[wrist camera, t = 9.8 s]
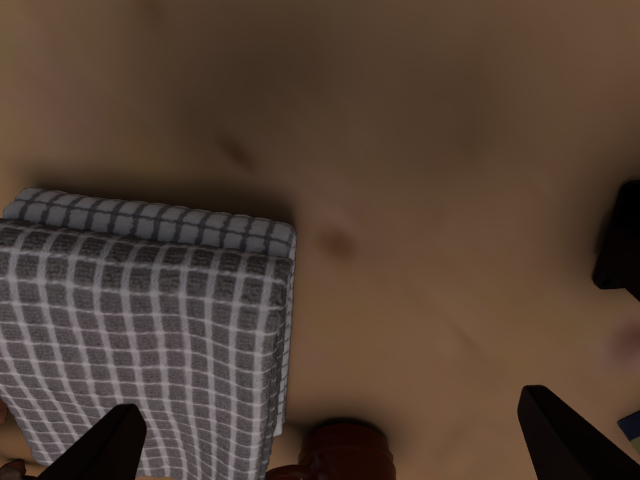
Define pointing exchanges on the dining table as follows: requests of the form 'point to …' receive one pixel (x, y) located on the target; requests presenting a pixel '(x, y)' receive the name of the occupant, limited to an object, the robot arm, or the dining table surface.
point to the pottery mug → (13, 473)
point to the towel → (147, 328)
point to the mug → (340, 456)
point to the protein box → (632, 429)
